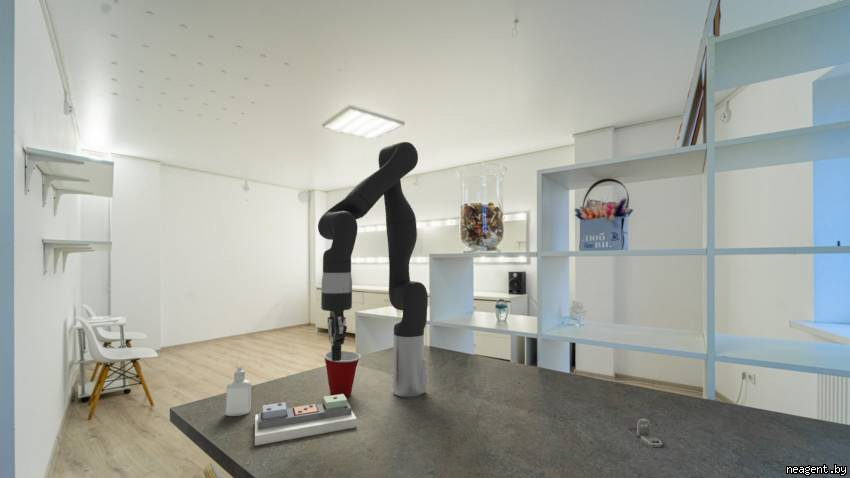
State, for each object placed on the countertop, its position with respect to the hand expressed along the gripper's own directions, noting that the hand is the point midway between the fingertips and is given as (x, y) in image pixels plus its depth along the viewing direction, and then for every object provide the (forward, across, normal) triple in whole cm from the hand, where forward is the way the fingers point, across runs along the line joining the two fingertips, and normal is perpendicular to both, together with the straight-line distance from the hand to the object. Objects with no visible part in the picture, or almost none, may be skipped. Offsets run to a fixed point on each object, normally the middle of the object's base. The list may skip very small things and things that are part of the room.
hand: (336, 360), depth 93 cm
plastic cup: (+15, +16, -5) cm, 22 cm away
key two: (+11, 0, +14) cm, 18 cm away
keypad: (+14, 0, +7) cm, 16 cm away
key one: (+11, 0, 0) cm, 11 cm away
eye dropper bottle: (+15, +14, +22) cm, 30 cm away
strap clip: (+16, -37, -62) cm, 74 cm away
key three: (+12, 0, +7) cm, 14 cm away
